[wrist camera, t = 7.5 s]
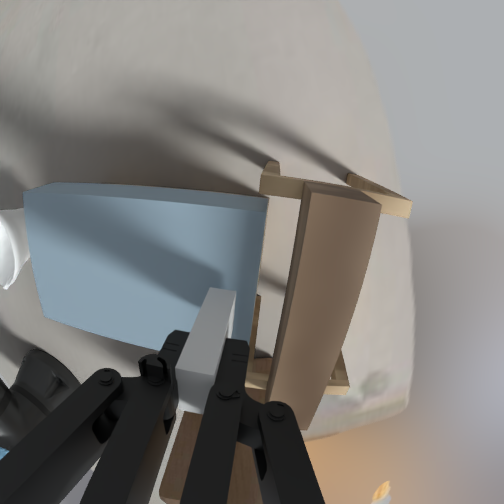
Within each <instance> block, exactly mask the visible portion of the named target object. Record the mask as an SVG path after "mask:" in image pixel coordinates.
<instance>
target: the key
mask: <svg viewBox="0 0 504 504" xmlns="http://www.w3.org/2000/svg"><path fill="white" fill-rule="evenodd" d="M381 208H382V204H380V203H379V202H377V201H376V200H374V199H373V198H371V197H369V196H368V195H366V194H365V193H363V192H362V191H360V190H355V189H350V188H344V187H339V186H333V185H327V184H321V183H315V182H308V181H304V185H303V191H302V198H301V205H300V211H299V217H298V224H297V230H296V236H295V242H294V248H293V254H292V260H291V265H290V271H289V277H288V282H287V288H286V293H285V298H284V304H283V309H282V314H281V319H280V324H279V329H278V334H277V339H276V344H275V349H274V354H273V359H272V363H271V368H270V373H269V377H268V382H267V386H266V391H265V403H266V402H270V401H281V402H283V403H286V404H287V405H289V406H290V407H291V408H292V410H293V411H294V414H295V417H296V420H297V423H298V426H299V429H300V430H307V429H308V427H309V425H310V423H311V421H312V419H313V417H314V414H315V412H316V410H317V408H318V405H319V403H320V401H321V398H322V396H323V394H324V391H325V389H326V387H327V384H328V382H329V379H330V377H331V374H332V372H333V369H334V367H335V364H336V361H337V359H338V356H339V353H340V351H341V348H342V345H343V343H344V340H345V337H346V334H347V331H348V328H349V325H350V322H351V319H352V316H353V313H354V310H355V307H356V304H357V301H358V297H359V294H360V291H361V287H362V284H363V280H364V277H365V273H366V270H367V266H368V262H369V259H370V255H371V251H372V247H373V243H374V239H375V235H376V230H377V226H378V222H379V217H380V213H381Z"/></svg>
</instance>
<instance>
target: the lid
mask: <svg viewBox="0 0 504 504" xmlns="http://www.w3.org/2000/svg"><path fill="white" fill-rule="evenodd" d="M23 204H24V215H25V224H26V231H27V239H28V245H29V251H30V257H31V263H32V268H33V273H34V277H35V282H36V286H37V290H38V294H39V298H40V302H41V306H42V310H43V313H44V317H47V318H49V319H52V320H55V321H58V322H61V323H63V324H66V325H69V326H72V327H75V328H78V329H81V330H85V331H88V332H91V333H94V334H98V335H101V336H104V337H108V338H111V339H115V340H118V341H122V342H126V343H130V344H133V345H137V346H141V347H145V348H150V349H154V350H158V351H160V350H161V349H162V346H163V344H164V342H165V340H166V338H167V336H168V335H169V334H170V333H171V332H173V331H174V330H180V331H186V332H191V329H192V327H193V325H194V322H195V320H196V318H197V315H198V313H199V311H200V309H201V306H202V304H203V302H204V299H205V297H206V295H207V293H208V290H209V288H210V287H212V288H218V289H225V290H232V291H236V300H235V311H234V321H233V331H232V335H231V339H238V340H245V341H247V343H248V345H249V342H250V336H251V329H252V321H253V314H254V307H255V299H256V292H257V284H258V277H259V269H260V261H261V254H262V246H263V238H264V231H265V223H266V215H267V207H268V198H261V197H253V196H244V195H236V194H227V193H218V192H208V191H198V190H187V189H175V188H163V187H150V186H135V185H117V184H97V183H66V182H54V183H50V184H47V185H44V186H40V187H37V188H34V189H31V190H28V191H25V192H23Z"/></svg>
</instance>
